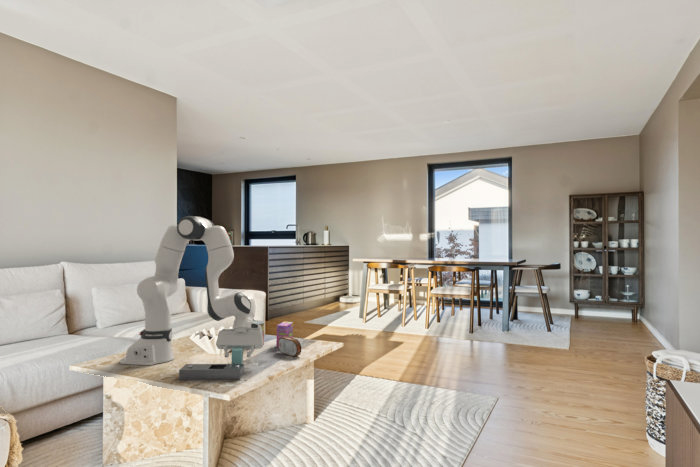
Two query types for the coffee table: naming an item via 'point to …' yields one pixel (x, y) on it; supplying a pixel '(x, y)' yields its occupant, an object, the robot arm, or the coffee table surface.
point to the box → (284, 331)
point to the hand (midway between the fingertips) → (237, 356)
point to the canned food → (261, 326)
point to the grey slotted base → (211, 372)
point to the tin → (289, 346)
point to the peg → (237, 356)
